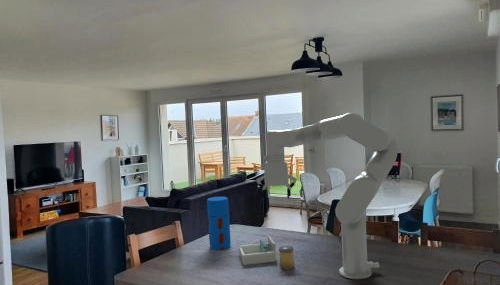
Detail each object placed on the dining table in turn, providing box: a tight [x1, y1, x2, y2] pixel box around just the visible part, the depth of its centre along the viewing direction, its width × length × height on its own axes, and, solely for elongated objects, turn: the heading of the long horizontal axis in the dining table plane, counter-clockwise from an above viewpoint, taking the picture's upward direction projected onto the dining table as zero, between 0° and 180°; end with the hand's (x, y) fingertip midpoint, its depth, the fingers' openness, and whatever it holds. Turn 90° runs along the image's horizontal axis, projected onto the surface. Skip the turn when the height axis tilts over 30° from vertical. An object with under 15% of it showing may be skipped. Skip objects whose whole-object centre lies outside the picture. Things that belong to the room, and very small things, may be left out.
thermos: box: [206, 196, 231, 251], centre depth 198 cm, size 11×11×25 cm
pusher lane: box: [238, 235, 277, 266], centre depth 179 cm, size 15×14×8 cm
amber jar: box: [278, 245, 295, 270], centre depth 166 cm, size 6×6×8 cm
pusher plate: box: [259, 239, 267, 253], centre depth 179 cm, size 1×11×6 cm, turn 8°
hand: (277, 198), depth 167 cm, fingers open, 9 cm apart
